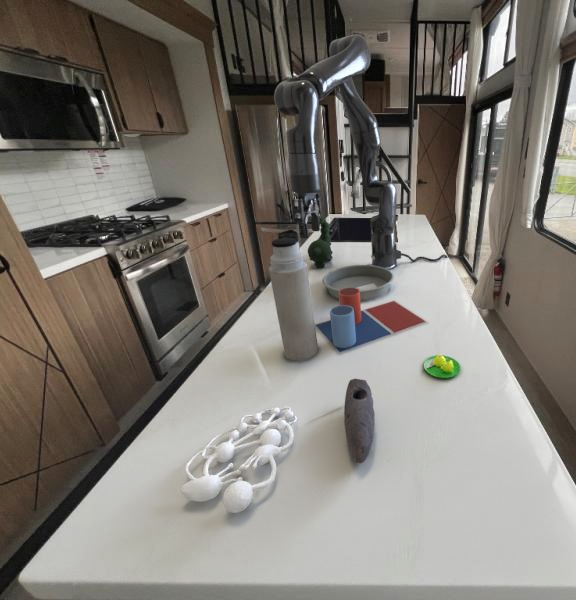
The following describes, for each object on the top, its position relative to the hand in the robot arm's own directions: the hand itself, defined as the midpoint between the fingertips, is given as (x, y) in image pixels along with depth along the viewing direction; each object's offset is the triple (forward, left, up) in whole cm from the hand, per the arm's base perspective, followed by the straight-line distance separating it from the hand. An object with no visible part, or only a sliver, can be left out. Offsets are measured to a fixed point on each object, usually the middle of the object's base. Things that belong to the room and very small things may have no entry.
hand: (310, 234), depth 91 cm
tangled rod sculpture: (+31, +44, -23) cm, 59 cm away
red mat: (-16, +18, -23) cm, 33 cm away
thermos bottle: (+13, +20, -23) cm, 33 cm away
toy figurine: (-18, -39, -23) cm, 49 cm away
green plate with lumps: (-11, +44, -23) cm, 51 cm away
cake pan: (-17, -6, -23) cm, 29 cm away
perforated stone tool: (+13, +50, -23) cm, 57 cm away
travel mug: (+1, -20, -23) cm, 30 cm away
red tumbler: (-4, +14, -23) cm, 27 cm away
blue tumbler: (+2, +23, -23) cm, 32 cm away
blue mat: (-2, +18, -23) cm, 30 cm away
